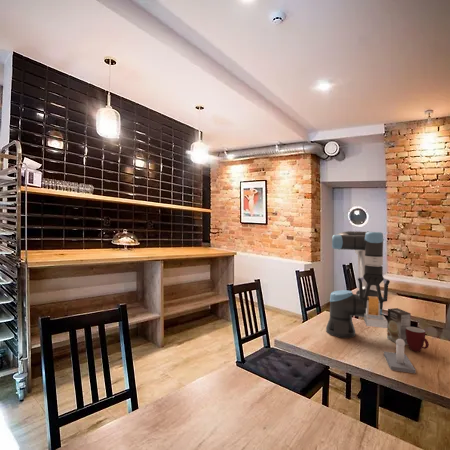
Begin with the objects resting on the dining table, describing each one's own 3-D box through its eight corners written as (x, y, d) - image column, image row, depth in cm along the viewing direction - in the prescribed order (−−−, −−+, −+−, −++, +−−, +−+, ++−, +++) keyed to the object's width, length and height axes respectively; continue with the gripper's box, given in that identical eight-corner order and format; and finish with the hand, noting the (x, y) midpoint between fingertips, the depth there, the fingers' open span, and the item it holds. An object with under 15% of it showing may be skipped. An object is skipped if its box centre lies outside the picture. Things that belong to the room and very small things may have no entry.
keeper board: (383, 354, 136) (383, 329, 136) (405, 357, 133) (405, 332, 133) (390, 369, 122) (391, 342, 122) (415, 373, 119) (416, 345, 119)
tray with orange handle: (362, 316, 138) (363, 295, 138) (381, 318, 136) (381, 297, 136) (366, 325, 125) (366, 302, 125) (387, 328, 123) (387, 304, 123)
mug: (434, 354, 137) (434, 332, 137) (423, 357, 134) (424, 335, 134) (411, 345, 147) (412, 325, 147) (401, 348, 143) (401, 327, 143)
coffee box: (386, 338, 155) (386, 308, 155) (396, 337, 157) (397, 307, 157) (400, 345, 146) (400, 313, 146) (410, 344, 148) (411, 313, 148)
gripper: (354, 265, 134) (353, 315, 134) (396, 267, 129) (395, 320, 129) (352, 263, 141) (352, 311, 141) (392, 265, 136) (391, 315, 136)
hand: (372, 315), depth 135 cm, fingers closed on tray with orange handle, 4 cm apart
